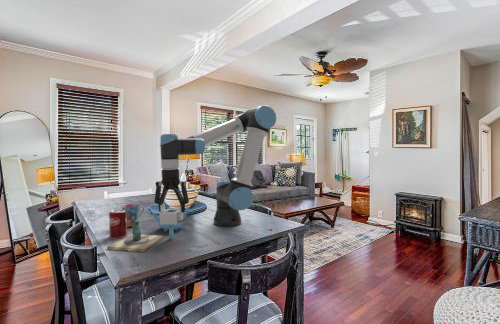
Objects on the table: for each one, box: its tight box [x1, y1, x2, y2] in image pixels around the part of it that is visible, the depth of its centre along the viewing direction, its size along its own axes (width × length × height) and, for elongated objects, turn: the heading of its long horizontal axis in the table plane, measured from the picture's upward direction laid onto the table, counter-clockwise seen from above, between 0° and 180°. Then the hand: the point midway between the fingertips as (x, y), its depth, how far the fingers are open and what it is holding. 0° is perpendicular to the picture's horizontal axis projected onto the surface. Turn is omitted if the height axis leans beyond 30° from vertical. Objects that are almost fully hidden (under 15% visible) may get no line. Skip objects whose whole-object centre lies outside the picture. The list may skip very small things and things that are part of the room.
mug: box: [121, 203, 145, 228], centre depth 143 cm, size 12×9×11 cm
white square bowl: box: [158, 208, 186, 225], centre depth 121 cm, size 8×8×5 cm
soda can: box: [108, 208, 128, 240], centre depth 125 cm, size 7×7×12 cm
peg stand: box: [107, 219, 164, 253], centre depth 115 cm, size 16×16×10 cm
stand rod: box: [168, 225, 175, 241], centre depth 121 cm, size 2×2×6 cm
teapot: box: [153, 206, 190, 232], centre depth 137 cm, size 13×14×11 cm
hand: (172, 218), depth 121 cm, fingers closed on white square bowl, 8 cm apart
